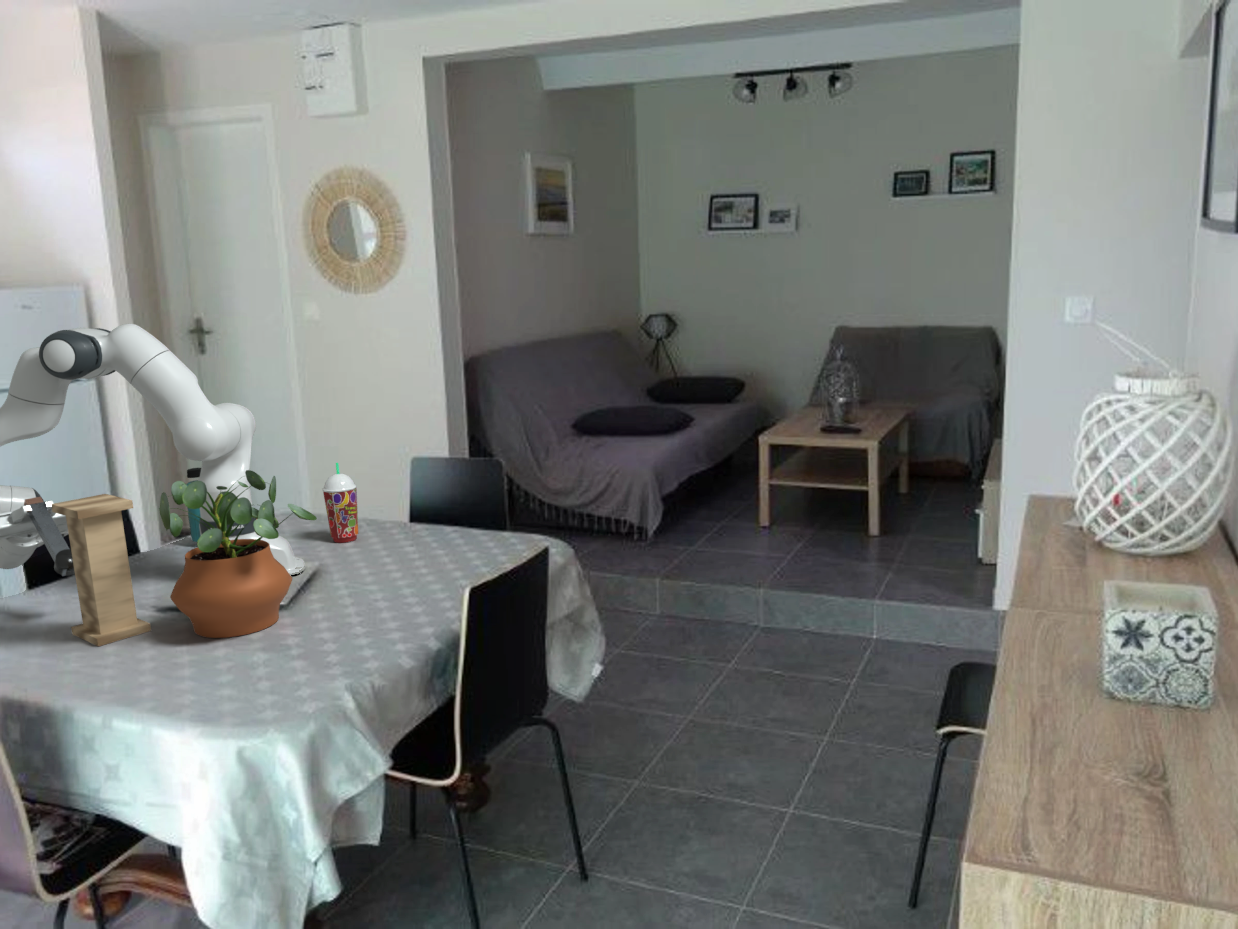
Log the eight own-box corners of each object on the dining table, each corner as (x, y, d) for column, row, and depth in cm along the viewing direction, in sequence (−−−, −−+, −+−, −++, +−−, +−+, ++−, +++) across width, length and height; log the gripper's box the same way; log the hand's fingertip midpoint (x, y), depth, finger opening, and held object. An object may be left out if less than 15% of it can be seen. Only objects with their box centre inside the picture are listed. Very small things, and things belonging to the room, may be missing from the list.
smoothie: (357, 543, 258) (349, 465, 254) (324, 545, 258) (315, 466, 254) (365, 535, 266) (357, 459, 262) (333, 536, 266) (325, 460, 262)
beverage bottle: (209, 547, 261) (199, 470, 258) (186, 547, 263) (175, 471, 259) (224, 540, 268) (214, 465, 264) (201, 540, 269) (191, 465, 265)
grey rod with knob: (20, 507, 215) (21, 497, 213) (42, 502, 218) (44, 493, 216) (59, 577, 207) (61, 568, 205) (81, 572, 210) (84, 562, 208)
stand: (72, 634, 200) (51, 504, 195) (124, 619, 208) (105, 493, 203) (98, 646, 192) (77, 511, 187) (151, 630, 200) (132, 500, 195)
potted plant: (186, 612, 210) (166, 468, 204) (328, 595, 216) (313, 455, 210) (165, 651, 188) (142, 491, 182) (324, 631, 194) (306, 475, 188)
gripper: (-37, 527, 216) (-22, 502, 206) (66, 508, 231) (84, 483, 221) (-28, 555, 215) (-12, 530, 205) (75, 533, 230) (93, 510, 220)
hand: (38, 506), depth 214 cm, fingers closed on grey rod with knob, 3 cm apart
